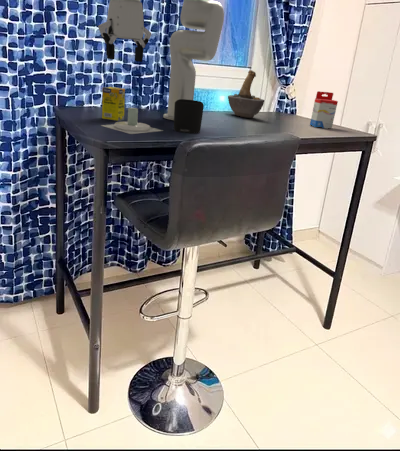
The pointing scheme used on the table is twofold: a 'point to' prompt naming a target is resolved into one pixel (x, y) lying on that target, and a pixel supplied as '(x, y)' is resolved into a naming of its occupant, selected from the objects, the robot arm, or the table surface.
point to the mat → (131, 131)
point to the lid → (132, 122)
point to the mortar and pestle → (246, 99)
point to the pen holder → (188, 116)
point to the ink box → (323, 110)
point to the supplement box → (113, 103)
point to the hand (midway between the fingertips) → (124, 60)
